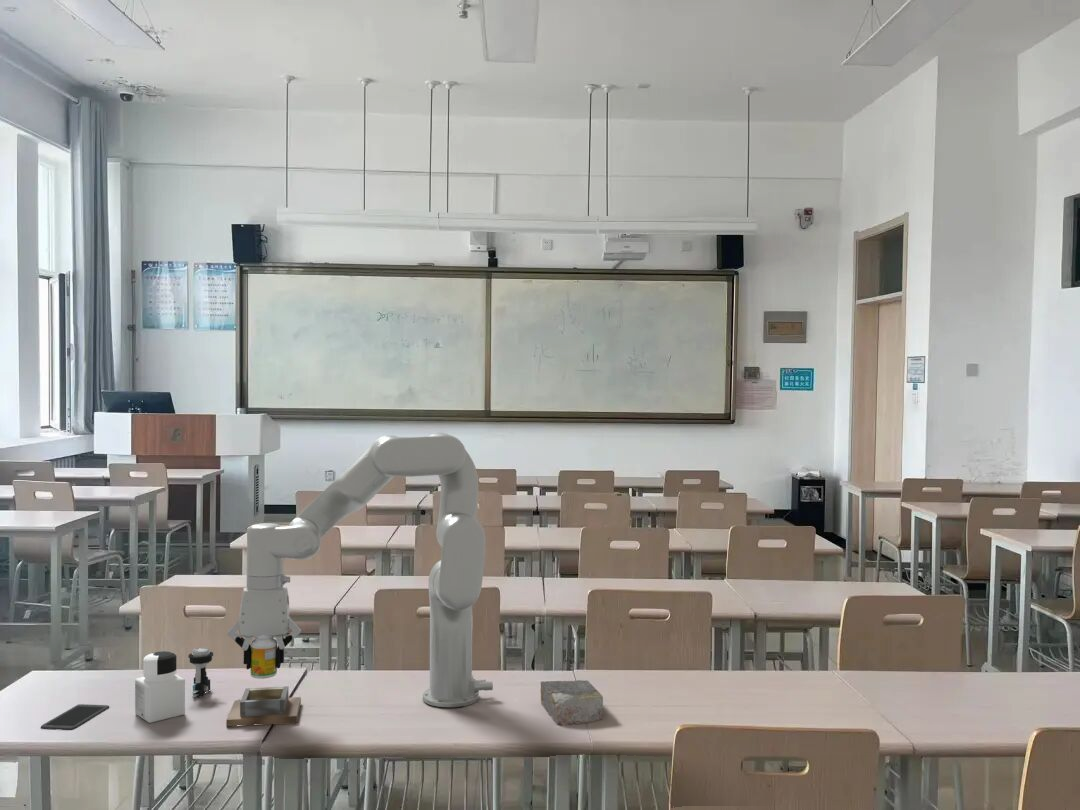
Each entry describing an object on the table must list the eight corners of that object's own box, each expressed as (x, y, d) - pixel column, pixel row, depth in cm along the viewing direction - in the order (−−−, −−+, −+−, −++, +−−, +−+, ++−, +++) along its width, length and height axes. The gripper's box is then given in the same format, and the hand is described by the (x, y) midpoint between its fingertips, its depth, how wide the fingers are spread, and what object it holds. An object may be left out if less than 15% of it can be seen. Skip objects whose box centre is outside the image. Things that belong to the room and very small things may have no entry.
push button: (204, 699, 208) (204, 655, 208) (181, 699, 208) (181, 654, 208) (217, 690, 214) (217, 647, 214) (194, 689, 215) (194, 646, 214)
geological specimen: (585, 677, 211) (606, 695, 196) (585, 704, 210) (606, 724, 196) (540, 679, 208) (557, 697, 194) (539, 707, 208) (557, 727, 193)
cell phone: (110, 708, 203) (110, 705, 203) (72, 731, 189) (72, 728, 189) (78, 707, 204) (78, 703, 203) (38, 730, 190) (38, 726, 190)
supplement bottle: (245, 675, 198) (246, 629, 198) (268, 669, 202) (268, 625, 202) (258, 680, 194) (259, 634, 194) (281, 675, 198) (282, 630, 198)
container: (170, 705, 204) (170, 646, 204) (185, 714, 198) (185, 654, 198) (134, 714, 198) (134, 653, 198) (149, 723, 193) (149, 661, 193)
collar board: (300, 703, 206) (300, 683, 205) (296, 723, 194) (296, 701, 194) (234, 707, 203) (234, 686, 203) (226, 727, 191) (226, 705, 191)
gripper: (307, 577, 203) (306, 660, 203) (225, 579, 200) (224, 663, 200) (305, 585, 196) (304, 670, 196) (220, 586, 193) (219, 673, 193)
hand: (263, 666), depth 198 cm, fingers closed on supplement bottle, 5 cm apart
